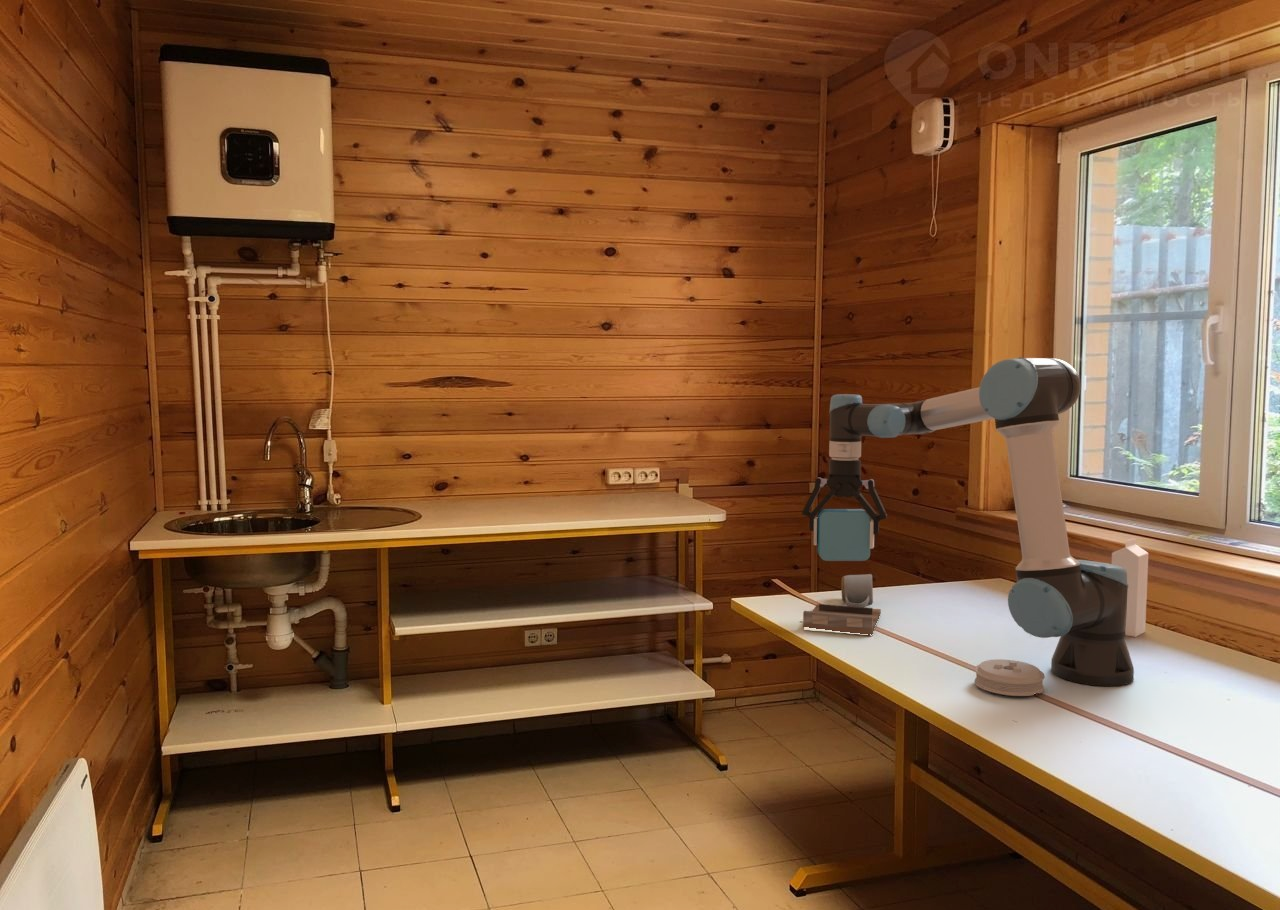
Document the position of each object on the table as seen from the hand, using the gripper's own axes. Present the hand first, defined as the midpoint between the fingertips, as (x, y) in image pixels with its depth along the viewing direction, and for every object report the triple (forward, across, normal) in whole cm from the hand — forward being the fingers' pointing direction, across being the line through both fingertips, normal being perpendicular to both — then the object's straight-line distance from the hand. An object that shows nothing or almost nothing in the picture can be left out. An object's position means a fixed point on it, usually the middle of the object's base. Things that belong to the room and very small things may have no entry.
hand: (843, 546), depth 233 cm
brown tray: (+19, 0, 0) cm, 19 cm away
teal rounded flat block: (+3, 0, 0) cm, 3 cm away
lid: (+19, +37, -38) cm, 57 cm away
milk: (+19, +64, +12) cm, 68 cm away
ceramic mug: (+19, +2, +20) cm, 28 cm away
